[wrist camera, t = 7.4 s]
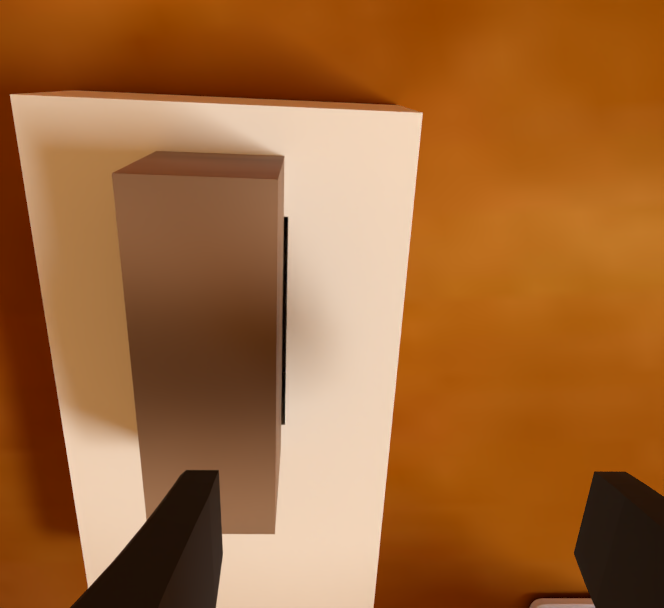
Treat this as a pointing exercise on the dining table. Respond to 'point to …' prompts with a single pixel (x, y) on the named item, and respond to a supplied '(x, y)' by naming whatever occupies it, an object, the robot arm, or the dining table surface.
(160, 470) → the rail end
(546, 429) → the dining table surface
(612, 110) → the dining table surface
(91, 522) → the white rectangular box
